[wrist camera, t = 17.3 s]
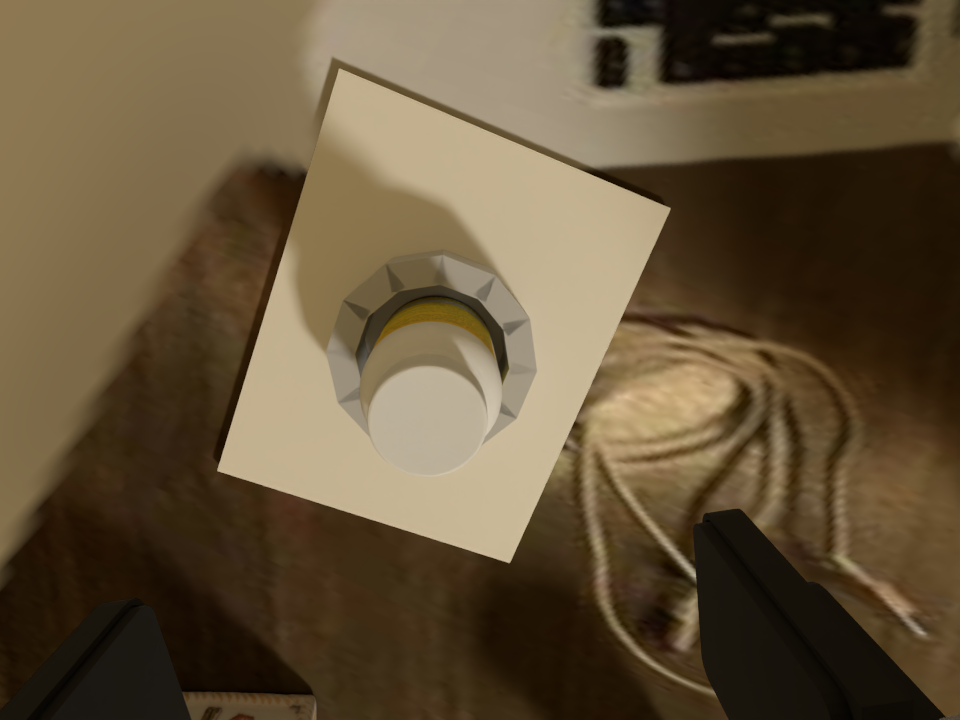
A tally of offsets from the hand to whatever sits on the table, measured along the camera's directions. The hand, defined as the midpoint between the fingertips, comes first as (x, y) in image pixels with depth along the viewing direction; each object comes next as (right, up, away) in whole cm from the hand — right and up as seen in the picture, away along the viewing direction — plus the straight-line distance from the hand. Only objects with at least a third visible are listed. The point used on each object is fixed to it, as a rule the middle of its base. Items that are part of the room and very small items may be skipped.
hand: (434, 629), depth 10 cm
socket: (-1, +5, +19) cm, 20 cm away
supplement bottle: (-1, +5, +19) cm, 20 cm away
